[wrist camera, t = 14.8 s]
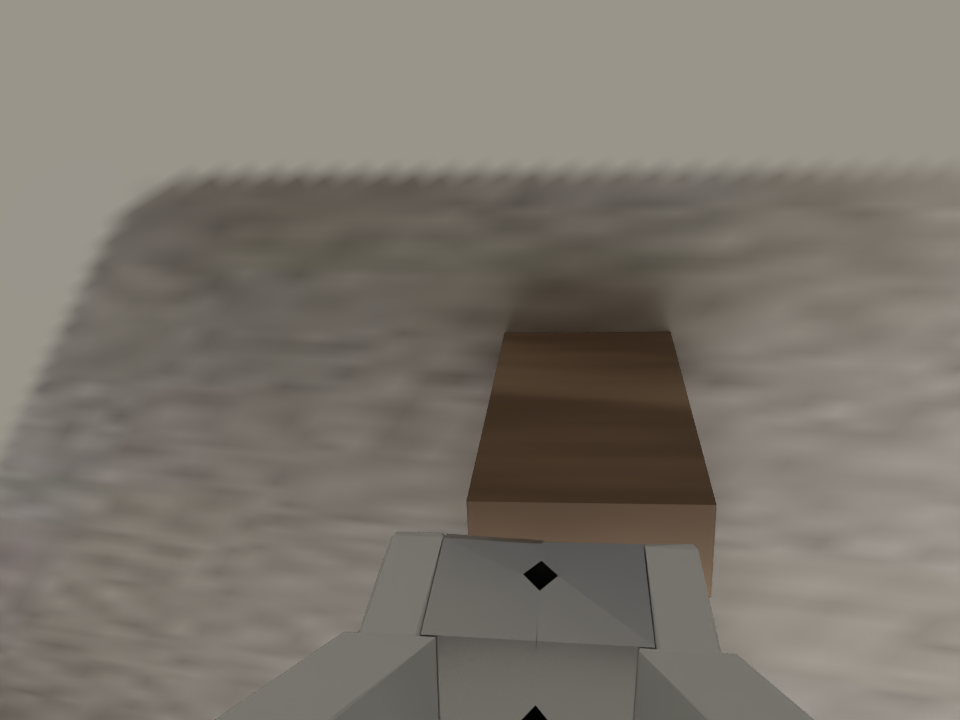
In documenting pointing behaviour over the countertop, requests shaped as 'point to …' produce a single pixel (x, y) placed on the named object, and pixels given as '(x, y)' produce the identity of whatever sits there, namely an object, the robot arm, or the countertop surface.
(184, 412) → the countertop surface
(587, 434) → the domino
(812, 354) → the countertop surface
